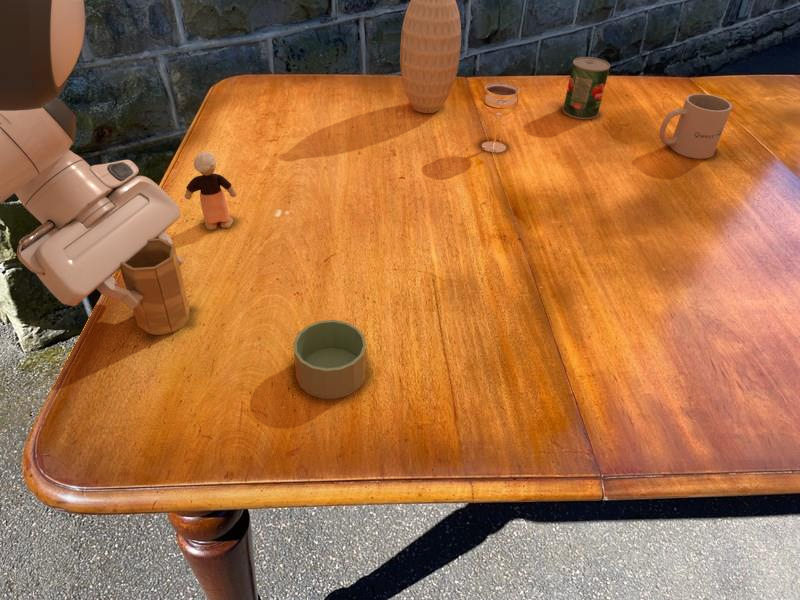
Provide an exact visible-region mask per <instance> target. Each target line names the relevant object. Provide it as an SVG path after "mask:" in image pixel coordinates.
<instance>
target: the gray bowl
mask: <svg viewBox="0 0 800 600" xmlns="http://www.w3.org/2000/svg"><path fill="white" fill-rule="evenodd" d="M292 345H293V356H294V357H293V358H294V367H295V378H296V381H297V383H298V385H299V387H300V388H301V389H302V390H303V391H304V392H305V393H306V394H308V395H310V396H312V397H315V398H318V399H324V400H336V399H341V398H345V397H347V396H350V395H351V394H353V393H355V392H356V391H357V390H358V389H359V388H361V386H362V385H363V384H364V381H365V379H366V373H367V341H366V336H365V334H364V333H363V332H362V331H361V330H360V329H359V328H358V327H357V326H356V325H354V324H351V323H349V322H347V321H342V320H337V319H329V320H327V319H326V320H319V321H316V322H313V323H310V324H308V325H306V326H305V327H304V328H302V330H300V331H299V332H298V333H297V334H296V336H295V339H294V340H293V343H292Z"/></svg>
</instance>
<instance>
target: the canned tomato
mask: <svg viewBox="0 0 800 600" xmlns="http://www.w3.org/2000/svg"><path fill="white" fill-rule="evenodd" d="M610 68H611V64H610V63H609V62H608V61H607V60H605V59H602V58H598V57H593V56H580V57H579V56H578V57H576V58H574V59H573V60H572V66H571V70H570V75H569V80H568V84H567V89H566V94H565V98H564V103H563V107H562V112H563V113H564V114H565V115H566V116H568V117H571V118H574V119H578V120H592V119H595V118H597V117H598V116H599V111H600V108H601V104H602V100H603V95H604V93H605V88H606V85H607V84H606V83H607V80H608V76H609V72H610Z"/></svg>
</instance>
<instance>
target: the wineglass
mask: <svg viewBox="0 0 800 600" xmlns="http://www.w3.org/2000/svg"><path fill="white" fill-rule="evenodd" d="M484 89H485V93H483V97H482V101H483V106H484V107H485V109H486V110H487V111H488V113H490V114H491V115H494V118H495V123H494V135H493V140H489V141H488V140H487V141H484V142H483V143H482V144H481V148H482V149H483V150H484V151H486V152H490V153H502V152H505V151H506V149H507V146H506V145H505V144H504V143H502V142H500V141H497V136H498V131H499V125H500V121H501V120H500V119H502V118H503V116H504V117H505V116H508V115H509V114H511V113H512V112H514V111H515V110H516V108H517V106H518V104H519V93H520V92H521V90H520V88H519V87H518V86H516V85H514V84H512V83H509V82H503V81H494V82H489V83H487V84H486V85H485V86H484Z"/></svg>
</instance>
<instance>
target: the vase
mask: <svg viewBox="0 0 800 600" xmlns="http://www.w3.org/2000/svg"><path fill="white" fill-rule="evenodd" d="M404 14H405V15H404V18H403V22H402V26H401V32H400V43H399V44H400V45H399V47H400V48H399V67H400V76H401V80H402V84H403V85H402V86H403V89H404V91H405V94H406V97H407V99H408V101H409V103H410V105H411V107H412V109H413V110H414V111H416V112H418V113H422V114H433V113H434V114H435V113H437V112H439V111H440V110H441V108H442V107H443V105H444V104H445V103H446V101H447V100H448V98H449V96H450V93H451V92H452V90H453V87H454V84H455V82H456V79H457V74H458V72H459V71H458V70H459V66H460V65H459V64H460V59H461V49H462V22H461V14H460V10H459V6H458V3H457V1H456V0H410V1H409V3H408V6H407V8H406V12H405V13H404Z"/></svg>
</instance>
